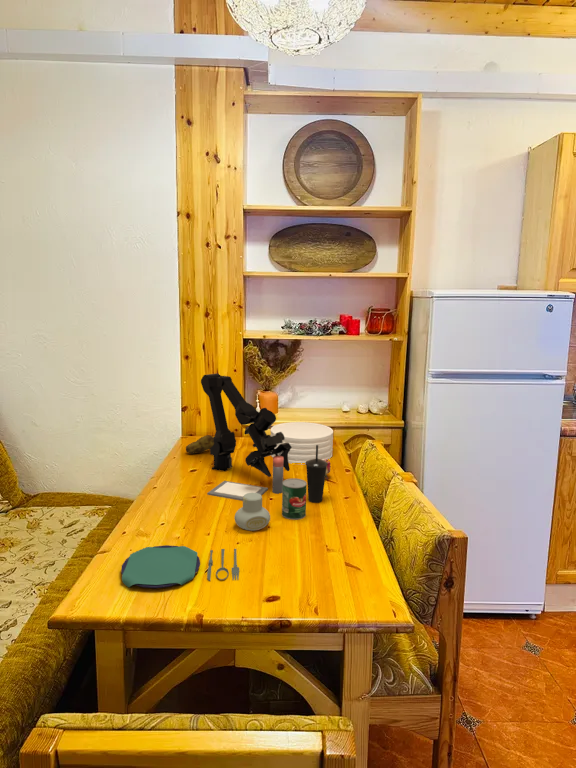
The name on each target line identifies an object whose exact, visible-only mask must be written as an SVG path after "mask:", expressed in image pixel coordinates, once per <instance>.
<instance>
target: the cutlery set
mask: <svg viewBox="0 0 576 768" xmlns="http://www.w3.org/2000/svg"><path fill="white" fill-rule="evenodd" d="M209 552H210V556H209V560H208V568H207V576H206V578H207V581H208V582H211V579H212V578H211V575H212V566H214V565H213V564H214V562H213V553H214V551H213V549H210V551H209ZM233 552H234V553H233V554H234V555H233V567H231V577H232V581H239V577H240V576H239V575H240V567H239V566H238V564H237V561H238V560H237V548H234V549H233ZM224 560H225V548H221V567H219V568H218V569H216V572H215V575H216V578H217V579H219V580H220V581H222V580H223V581H224V580H226V579H227V578H228V577H229V573H230V572H229V570H228V569H227V568H226V567H224ZM200 565H201V560H200V557H199V556H198V552H197V551H195V550H194V549H192V548H190V547H189V546H188V547H187V546H184V545H180V546H179V545H156V546H155V545H154V546H146V547H143V548H141V549H139V550H137V551H135V552H132V553H130V555H129V556H128V557H127V558H126V559H125V560H124V561H123V563H122V565H121V570H120V573H121V581H122V583H123V584H124V585H125V586H126V587H128V588H130V587H132V586H133V585H134V586H138V587H140V588H149V589H150V588H151V589H159V588H169V587H173V586H175V585H181V586H182V585H184V584H186V583H188V582H189V581H192V580H193V579H194V577H195V575H196V573H197V572H198V571H199V568H200ZM222 571H225V572H226V573H227V575H226V577H224V578H219V577H218V574H219V572H222Z"/></svg>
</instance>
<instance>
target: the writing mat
mask: <svg viewBox="0 0 576 768" xmlns="http://www.w3.org/2000/svg"><path fill="white" fill-rule="evenodd" d="M268 490H269V488H268V487H266V486H265V487H264V486H260V485H252V484H248V483H247V484H246V483H241V482H235V481H234V482H233V481H229V480H228V481H227V480H224V481H222V482H220V483H219V484H218V485H216V486H215V487H214V488H212V489H211V490H210V491H208V492H207V493H206V494H207V496H213V497H219V498H225V499H230V500H237V501H241V502H243V496H244V495H245V494H247V493H258V494H260V495H261V496H262V495H264V494H265V493H266V492H267V491H268Z"/></svg>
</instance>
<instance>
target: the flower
mask: <svg viewBox="0 0 576 768" xmlns="http://www.w3.org/2000/svg"><path fill="white" fill-rule="evenodd" d="M323 461H326V462H327V463H328V465H327V467H326V475H325V480H328V479H329V477H328V474H329V473H331V467H332V466H331V462H330V461H329V460H327V459H325V460H323Z"/></svg>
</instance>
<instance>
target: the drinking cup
mask: <svg viewBox="0 0 576 768" xmlns="http://www.w3.org/2000/svg"><path fill="white" fill-rule="evenodd" d="M327 462H328V461H327ZM327 462H326V461H323V460H321V459H318V445H316V459H311V460H308V461H306V463H305V464H304V465H306V480H307V481H306V483H307V499H308V502H310V503H314V504H319V503H322V501H323V496H324V488H325V482H326V478H325V475H326V467H327V465H328V463H327Z"/></svg>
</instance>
